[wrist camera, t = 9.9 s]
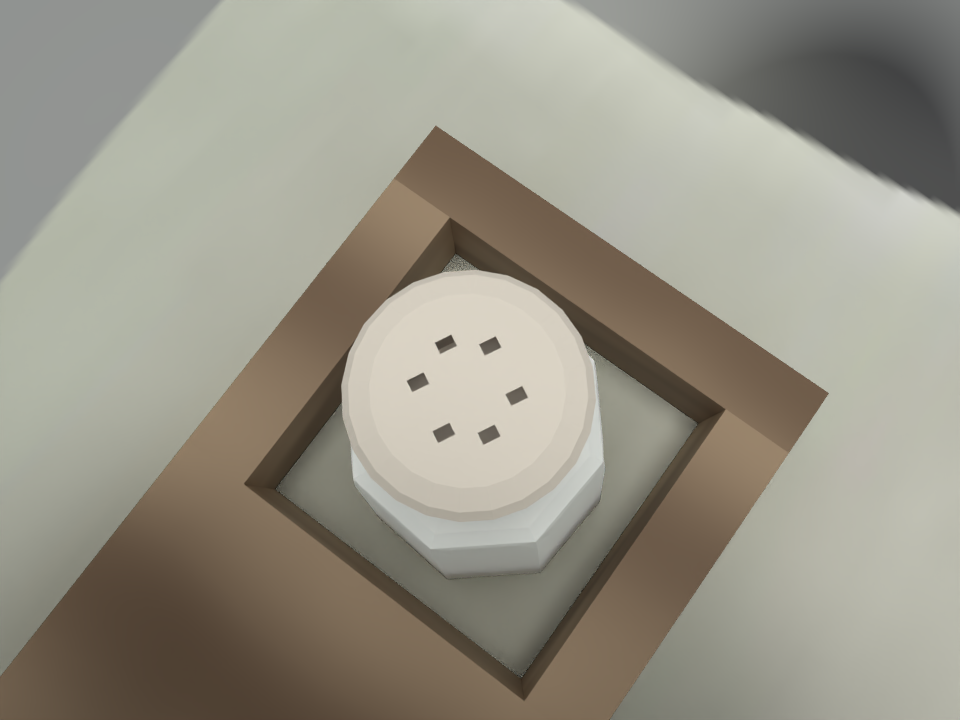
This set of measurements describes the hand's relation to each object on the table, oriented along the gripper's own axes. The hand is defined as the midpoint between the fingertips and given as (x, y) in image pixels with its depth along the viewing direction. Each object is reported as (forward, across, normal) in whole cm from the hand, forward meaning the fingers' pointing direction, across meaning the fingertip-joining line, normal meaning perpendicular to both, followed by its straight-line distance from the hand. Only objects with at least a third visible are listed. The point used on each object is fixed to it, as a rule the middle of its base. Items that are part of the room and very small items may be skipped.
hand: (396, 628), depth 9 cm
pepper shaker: (+10, 0, +6) cm, 12 cm away
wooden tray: (+8, +1, +8) cm, 11 cm away
